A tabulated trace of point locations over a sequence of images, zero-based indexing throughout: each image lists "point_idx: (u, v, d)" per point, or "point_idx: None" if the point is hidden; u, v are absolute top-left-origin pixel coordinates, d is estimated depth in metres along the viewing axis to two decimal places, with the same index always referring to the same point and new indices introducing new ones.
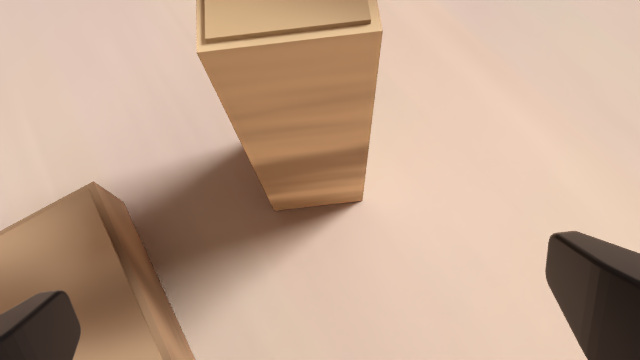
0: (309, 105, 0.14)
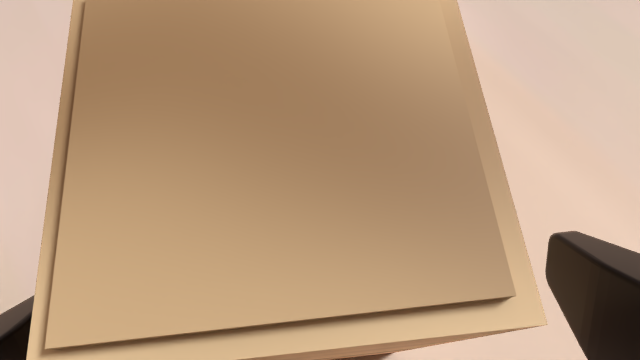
0: (327, 355, 0.07)
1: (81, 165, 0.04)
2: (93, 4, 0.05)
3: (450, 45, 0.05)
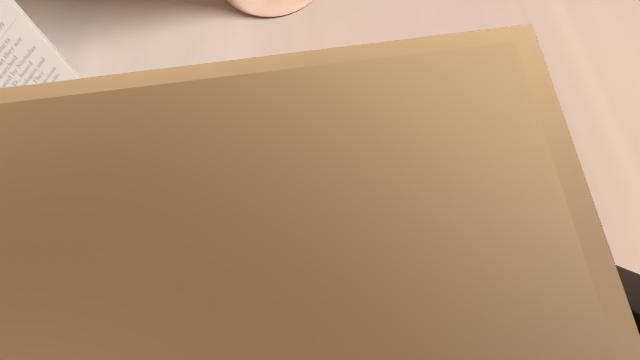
0: None
1: None
2: None
3: (572, 228, 0.03)
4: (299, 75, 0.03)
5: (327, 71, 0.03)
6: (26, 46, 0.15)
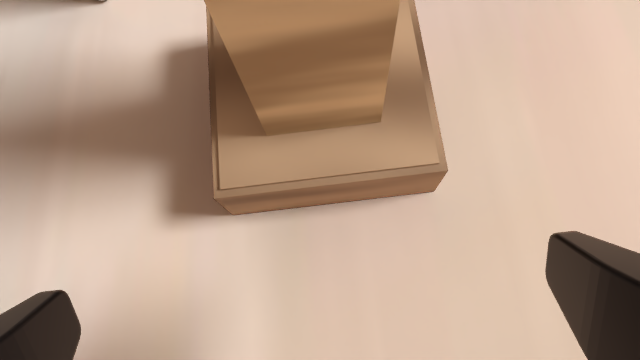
0: None
1: None
2: None
3: None
4: None
5: None
6: None
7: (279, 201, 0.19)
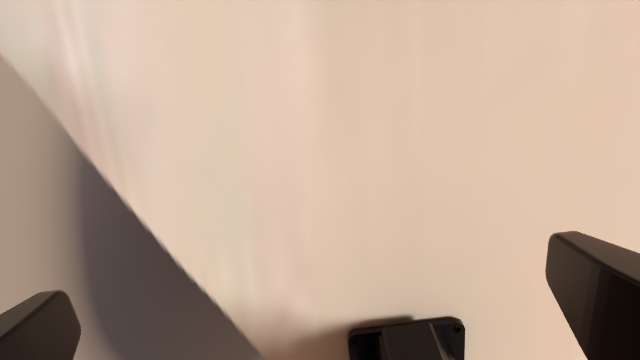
0: None
1: None
2: None
3: None
4: None
5: None
6: None
7: None
